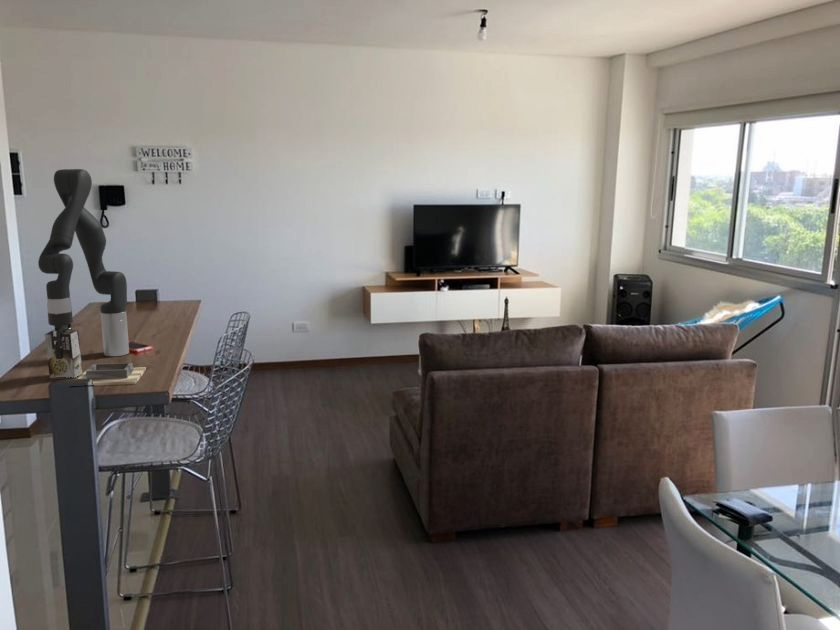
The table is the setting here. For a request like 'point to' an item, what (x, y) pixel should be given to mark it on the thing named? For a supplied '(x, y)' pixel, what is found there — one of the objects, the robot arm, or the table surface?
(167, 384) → the table surface
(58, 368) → the coffee box
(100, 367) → the mount plate
